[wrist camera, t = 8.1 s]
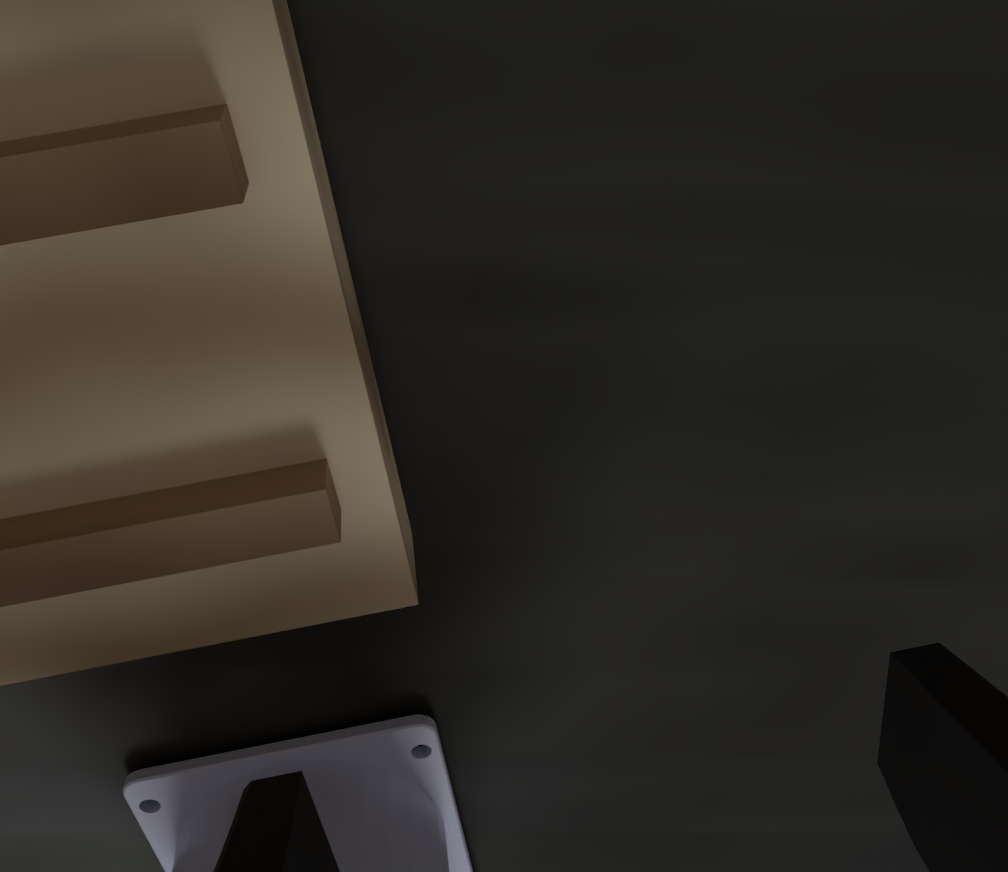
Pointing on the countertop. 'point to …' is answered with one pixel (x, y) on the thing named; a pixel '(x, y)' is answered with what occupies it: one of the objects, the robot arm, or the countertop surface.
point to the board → (177, 344)
